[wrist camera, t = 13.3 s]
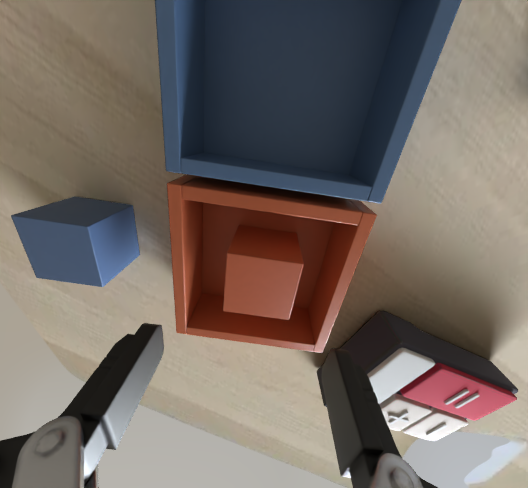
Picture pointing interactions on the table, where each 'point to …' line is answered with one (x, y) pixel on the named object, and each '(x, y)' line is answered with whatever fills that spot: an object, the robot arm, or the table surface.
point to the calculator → (424, 378)
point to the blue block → (79, 239)
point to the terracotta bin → (269, 217)
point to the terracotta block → (262, 272)
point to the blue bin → (296, 88)
